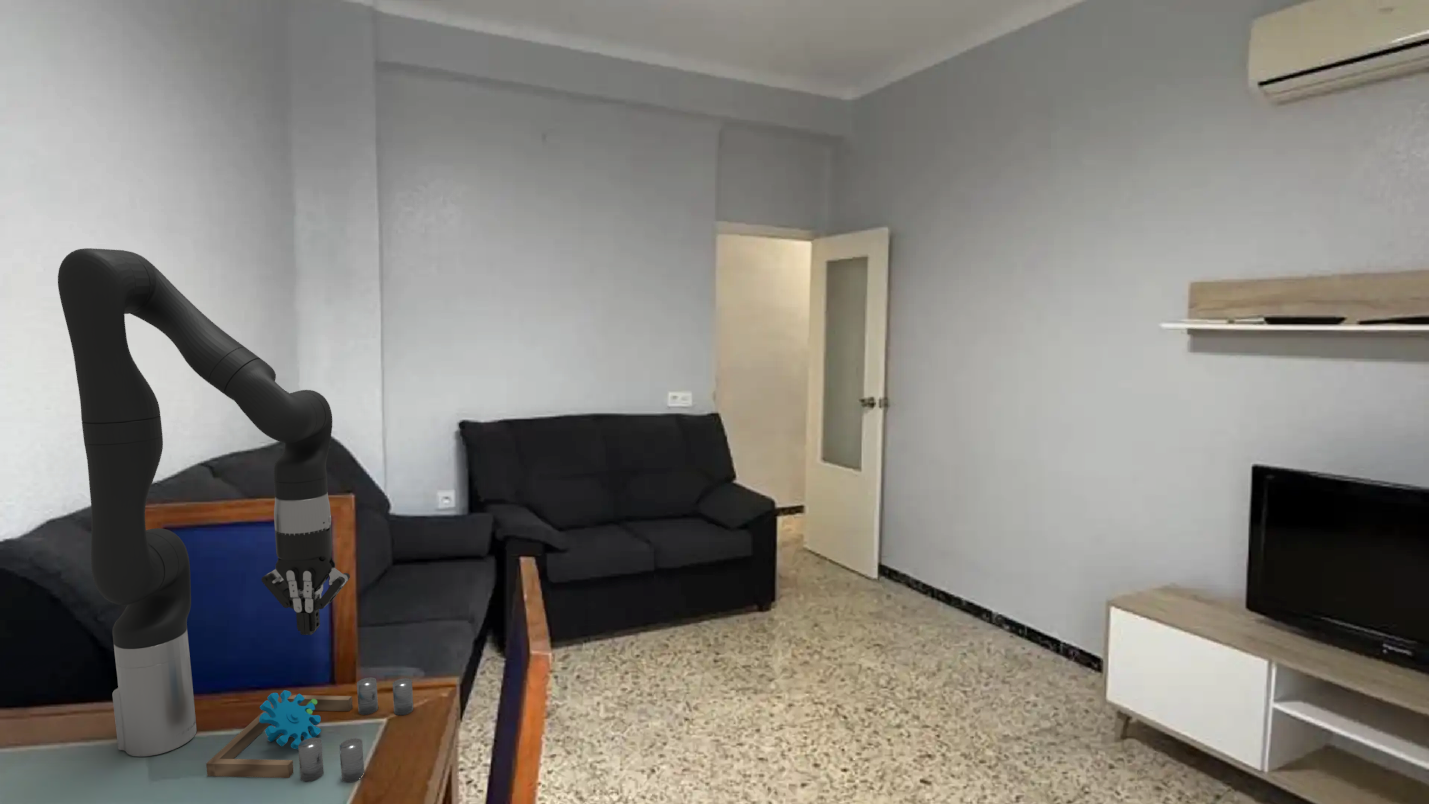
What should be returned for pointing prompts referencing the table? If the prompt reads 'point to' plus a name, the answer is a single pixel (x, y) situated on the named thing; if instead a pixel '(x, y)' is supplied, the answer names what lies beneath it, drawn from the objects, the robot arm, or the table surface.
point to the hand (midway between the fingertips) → (309, 632)
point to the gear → (289, 719)
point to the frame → (225, 757)
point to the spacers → (353, 747)
